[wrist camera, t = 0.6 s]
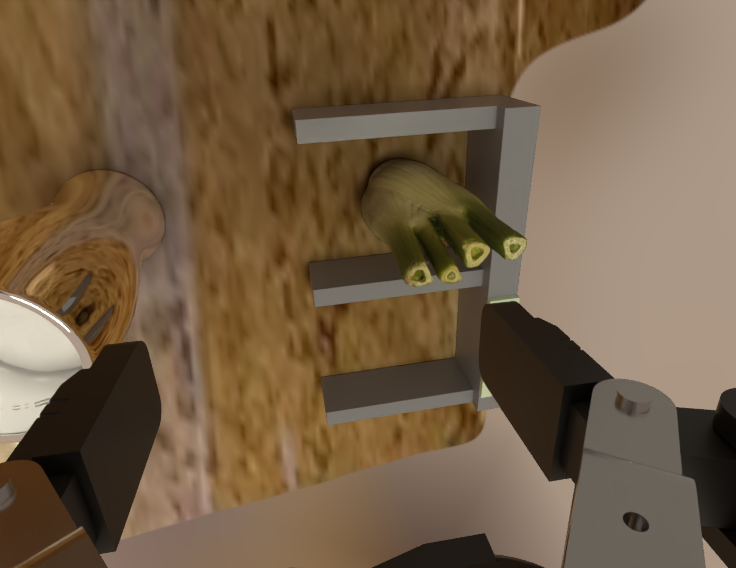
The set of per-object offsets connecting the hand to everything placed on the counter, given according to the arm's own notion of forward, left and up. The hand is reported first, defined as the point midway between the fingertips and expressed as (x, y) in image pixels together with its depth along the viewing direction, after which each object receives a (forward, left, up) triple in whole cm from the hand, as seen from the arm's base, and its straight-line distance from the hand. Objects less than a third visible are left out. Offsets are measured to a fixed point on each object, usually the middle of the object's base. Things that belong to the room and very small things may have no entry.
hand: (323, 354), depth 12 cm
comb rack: (+8, +7, -21) cm, 23 cm away
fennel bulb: (+3, +7, -21) cm, 22 cm away
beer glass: (+3, -11, -21) cm, 24 cm away
